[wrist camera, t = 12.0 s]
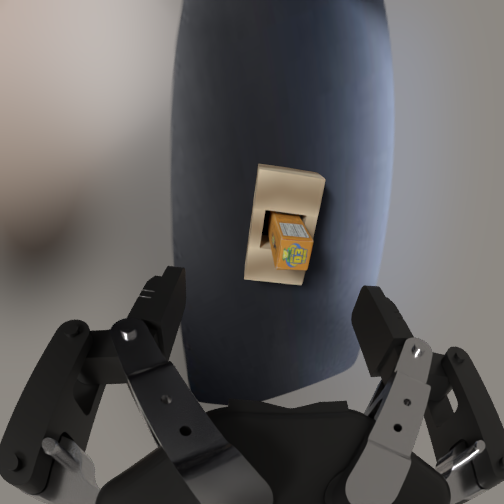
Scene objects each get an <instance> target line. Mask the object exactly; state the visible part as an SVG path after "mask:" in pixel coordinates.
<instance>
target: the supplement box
mask: <svg viewBox="0 0 504 504" xmlns="http://www.w3.org/2000/svg"><path fill="white" fill-rule="evenodd" d="M268 236H269V241H270V246H271V251H272V256H273V261H274V265H275V269H276V270H307V269H308V265H309V260H310V256H311V251H312V246H313V242H314V241H313V239H312V238H311V236H310V234H309V232H308V231H307V229H306V227H305V225H304V223H303V221H302V220H301V218H300V216H299V215H298V214H292V213H285V212H277V211H270V216H269V224H268Z"/></svg>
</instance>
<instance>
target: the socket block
mask: <svg viewBox="0 0 504 504" xmlns="http://www.w3.org/2000/svg"><path fill="white" fill-rule="evenodd" d="M324 185H325V179H324V178H323V177H322V176H321V175H319V174H318V173H316V172H310V171H304V170H298V169H292V168H285V167H278V166H271V165H264V164H258V172H257V179H256V186H255V194H254V201H253V209H252V216H251V224H250V231H249V239H248V246H247V254H246V262H245V275H244V279H248V280H256V281H266V282H275V283H284V284H294V285H302V282H303V278H304V274H305V270H276V269H275V265H274V261H273V256H272V251H271V246H270V241H269V236H268V235H262V229H263V223H264V216H265V210H270V211H277V212H285V213H292V214H299V216H300V218H301V220H302V221H303V223H304V225H305V227H306V229H307V231H308V232H309V234H310V236H311V238H312V239H313V237H314V232H315V228H316V223H317V218H318V214H319V209H320V204H321V199H322V195H323V190H324Z"/></svg>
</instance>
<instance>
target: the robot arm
mask: <svg viewBox="0 0 504 504" xmlns="http://www.w3.org/2000/svg"><path fill="white" fill-rule="evenodd" d="M185 304H186V280H185V268H181V267H173V266H168V267H167V268H166V270H165V272H164V274H163V275H162V277H161V276H154V277H153V278H151V279H150V280H149V281H147V283H146V284H145V286H144V288H143V291H141V293H140V295H139V297H138V298H137V300H136V302H135V304H134V306H133V308H132V309H131V311H130V313H129V315H128V317H127V318H125V319H121V320H119V321H117V322H116V323H114V325H113V326H112V327H111V329H110V330H99V331H90V329H89V326H88V325H87V324H86V323H85V322H83V321H81V320H70V321H67V322H65V323H63V324H62V325H61V326H60V327H59V328H58V329H57V331H56V333H55V334H54V336H53V337H52V339H51V341H50V342H49V344H48V346H47V348H46V349H45V351H44V353H43V354H42V356H41V358H40V360H39V361H38V363H37V365H36V367H35V369H34V371H33V373H32V374H31V377H30V378H29V380H28V382H27V384H26V386H25V388H24V390H23V392H22V394H21V397H20V399H19V401H18V403H17V405H16V407H15V409H14V412H13V414H12V416H11V418H10V421H9V423H8V426H7V428H6V431H5V433H4V436H3V439H2V441H1V444H0V474H1V476H2V477H3V479H4V480H6V481H7V482H8V483H10V484H12V485H13V486H15V487H17V488H19V489H20V490H21V491H23V492H24V493H26V494H27V495H30V496H32V497H33V498H35V499H38V500H39V501H42V502H44V503H48V504H463V503H465V502H467V501H469V500H471V499H473V498H475V497H476V496H478V495H480V494H482V493H484V492H486V491H487V490H489V489H491V488H492V487H494V486H496V485H497V484H499V483H500V482H502V481H504V428H503V426H502V423H501V421H500V419H499V416H498V414H497V411H496V409H495V407H494V405H493V402H492V400H491V398H490V396H489V394H488V392H487V390H486V387H485V386H484V384H483V382H482V380H481V377H480V376H479V374H478V372H477V370H476V368H475V366H474V364H473V362H472V360H471V359H470V357H469V355H468V354H467V353H466V352H465V351H464V350H463V349H461V348H458V347H450V348H449V349H448V351H447V352H446V354H445V355H442V354H438V353H433V352H432V349H431V347H430V346H429V345H428V344H427V343H426V342H425V341H423V340H421V339H419V338H414V337H413V335H412V333H411V332H410V330H409V328H408V326H407V324H406V322H405V321H404V320H403V317H402V315H401V314H400V313H399V310H398V309H397V307H396V306H395V304H394V303H393V302H392V301H390V299H389V298H386V297H385V295H384V293H383V292H382V290H381V288H380V287H378V286H363V287H362V288H361V291H360V293H359V296H358V299H357V301H356V304H355V307H354V309H353V312H352V318H351V320H352V326H353V328H354V331H355V334H356V336H357V339H358V342H359V344H360V347H361V350H362V353H363V355H364V358H365V361H366V364H367V367H368V370H369V373H370V375H371V377H378V376H381V378H382V380H381V381H380V383H379V384H378V387H377V389H376V391H375V393H374V395H373V397H372V399H371V401H370V403H369V405H368V407H367V409H366V411H365V413H364V414H363V413H361V412H358V411H355V410H351V409H348V405H347V401H335V402H319V403H314V404H310V405H306V406H302V407H297V408H291V409H290V408H285V407H281V406H277V405H273V404H269V403H264V402H261V401H250V400H237V399H229V404H228V407H223V408H218V409H214V410H211V411H208V412H206V413H205V411H204V410H203V408H202V407H201V406H200V404H199V403H198V401H197V400H196V398H195V397H194V395H193V394H192V392H191V391H190V389H189V388H188V386H187V385H186V383H185V382H184V380H183V379H182V377H181V376H180V374H179V372H178V371H177V369H176V368H175V366H174V365H173V363H172V362H171V361H168V360H169V357H170V354H171V350H172V347H173V344H174V341H175V338H176V334H177V331H178V328H179V325H180V322H181V319H182V316H183V313H184V309H185ZM121 383H127V385H128V388H129V390H130V392H131V394H132V397H133V399H134V401H135V403H136V405H137V407H138V409H139V411H140V413H141V415H142V417H143V420H144V421H145V424H146V426H147V428H148V430H149V432H150V434H151V436H152V437H153V439H154V441H155V443H156V445H157V446H158V448H156V449H155V450H153V451H152V452H151V453H149V454H148V455H147V456H145V457H144V458H142V459H141V460H140V461H138V462H137V463H135V464H134V465H133V466H131V467H130V468H128V469H127V470H125V471H124V472H122V473H121V474H119V475H118V476H116V477H115V478H113V479H112V480H110V481H109V482H107V483H106V484H105V485H104V486H103V487H102V488H101V489H100V488H99V487H98V485H97V484H96V481H95V467H94V464H93V462H92V460H91V458H90V457H89V456H88V455H87V454H86V453H85V450H86V446H87V442H88V439H89V436H90V432H91V429H92V425H93V422H94V419H95V416H96V413H97V410H98V407H99V404H100V400H101V397H102V394H103V392H104V389H105V386H106V384H121ZM452 389H453V391H454V393H455V396H456V398H457V401H458V407H457V410H456V412H455V413H454V412H453V410H452V407H451V404H450V402H449V399H448V397H447V394H448V393H449V392H450V391H451V390H452ZM423 416H424V418H425V421H426V425H427V428H428V431H429V435H430V438H431V442H432V445H433V449H434V453H435V457H436V461H437V464H436V469H434V468H432V467H431V466H430V465H428V464H427V463H426V462H424V461H423V460H422V459H421V458H420V457H418V456H417V455H416V454H415V453H413V452H412V449H413V447H414V444H415V441H416V438H417V435H418V432H419V429H420V426H421V423H422V420H423Z"/></svg>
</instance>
